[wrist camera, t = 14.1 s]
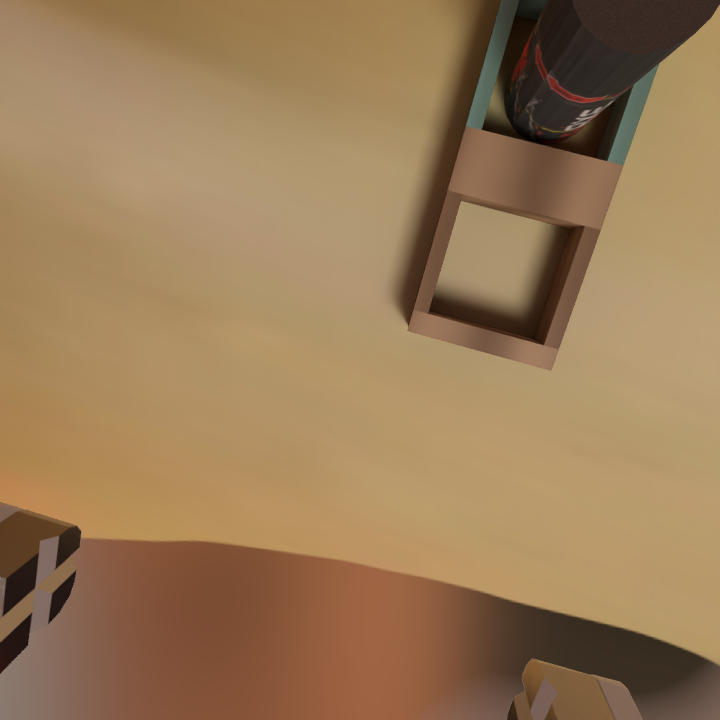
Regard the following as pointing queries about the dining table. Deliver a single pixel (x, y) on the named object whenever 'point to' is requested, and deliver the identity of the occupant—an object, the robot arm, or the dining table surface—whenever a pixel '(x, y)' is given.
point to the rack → (528, 203)
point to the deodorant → (592, 59)
